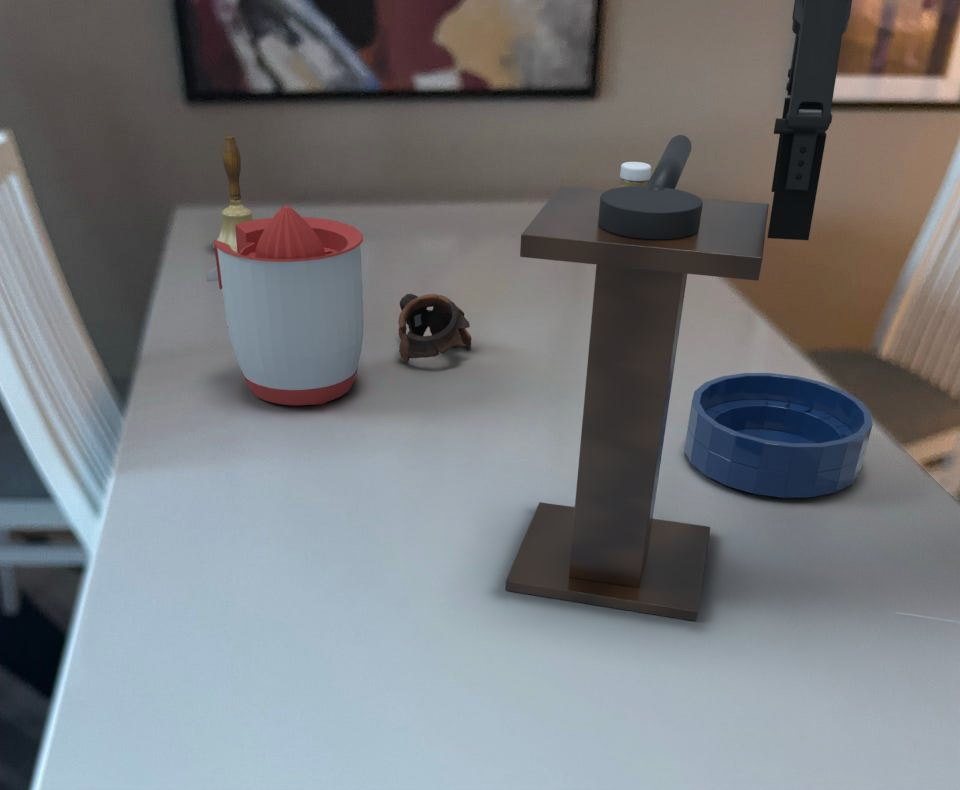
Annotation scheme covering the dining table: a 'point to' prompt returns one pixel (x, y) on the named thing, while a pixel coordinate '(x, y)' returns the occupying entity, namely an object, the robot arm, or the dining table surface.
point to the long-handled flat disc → (654, 202)
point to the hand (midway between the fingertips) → (788, 213)
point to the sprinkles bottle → (634, 174)
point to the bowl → (777, 434)
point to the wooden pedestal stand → (628, 408)
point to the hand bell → (232, 195)
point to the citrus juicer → (294, 306)
